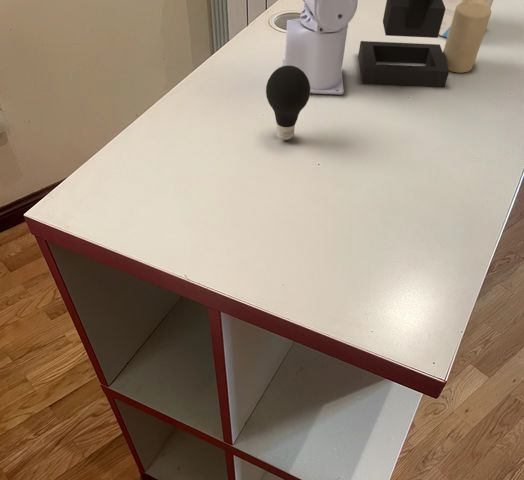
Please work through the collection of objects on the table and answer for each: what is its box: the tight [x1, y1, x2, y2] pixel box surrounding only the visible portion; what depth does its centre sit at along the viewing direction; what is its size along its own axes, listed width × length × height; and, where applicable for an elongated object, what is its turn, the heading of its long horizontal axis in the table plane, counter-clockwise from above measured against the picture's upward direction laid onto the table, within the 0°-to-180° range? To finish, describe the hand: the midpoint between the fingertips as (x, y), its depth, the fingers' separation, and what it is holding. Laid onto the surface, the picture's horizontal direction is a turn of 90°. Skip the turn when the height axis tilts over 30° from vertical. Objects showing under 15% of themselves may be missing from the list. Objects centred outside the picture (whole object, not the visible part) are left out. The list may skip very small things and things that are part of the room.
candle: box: [442, 0, 492, 74], centre depth 84 cm, size 6×6×10 cm
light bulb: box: [265, 66, 311, 142], centre depth 70 cm, size 6×6×10 cm
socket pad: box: [357, 40, 450, 88], centre depth 85 cm, size 14×10×2 cm
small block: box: [382, 0, 446, 39], centre depth 78 cm, size 8×5×4 cm, turn 87°
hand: (411, 20), depth 79 cm, fingers closed on small block, 5 cm apart
